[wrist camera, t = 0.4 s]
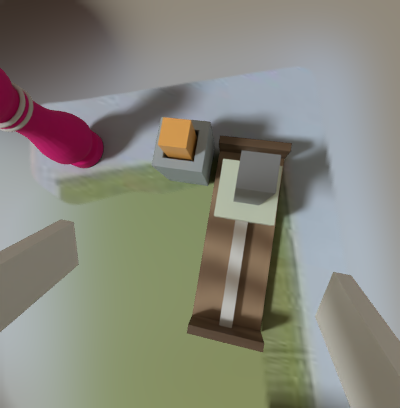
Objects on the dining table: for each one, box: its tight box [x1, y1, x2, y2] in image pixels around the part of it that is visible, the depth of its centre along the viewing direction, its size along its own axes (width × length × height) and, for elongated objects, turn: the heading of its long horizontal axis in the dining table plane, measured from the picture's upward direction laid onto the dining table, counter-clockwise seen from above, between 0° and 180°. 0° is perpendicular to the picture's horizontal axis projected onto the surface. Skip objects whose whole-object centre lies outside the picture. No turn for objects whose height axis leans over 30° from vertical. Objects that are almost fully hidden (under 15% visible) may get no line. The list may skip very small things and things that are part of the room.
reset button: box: [158, 117, 198, 162], centre depth 25 cm, size 3×3×6 cm
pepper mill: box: [0, 68, 103, 168], centre depth 26 cm, size 7×7×20 cm
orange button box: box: [152, 117, 215, 186], centre depth 29 cm, size 6×6×8 cm
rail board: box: [187, 136, 292, 352], centre depth 29 cm, size 25×9×4 cm, turn 170°
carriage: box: [214, 150, 283, 226], centre depth 22 cm, size 7×7×12 cm
